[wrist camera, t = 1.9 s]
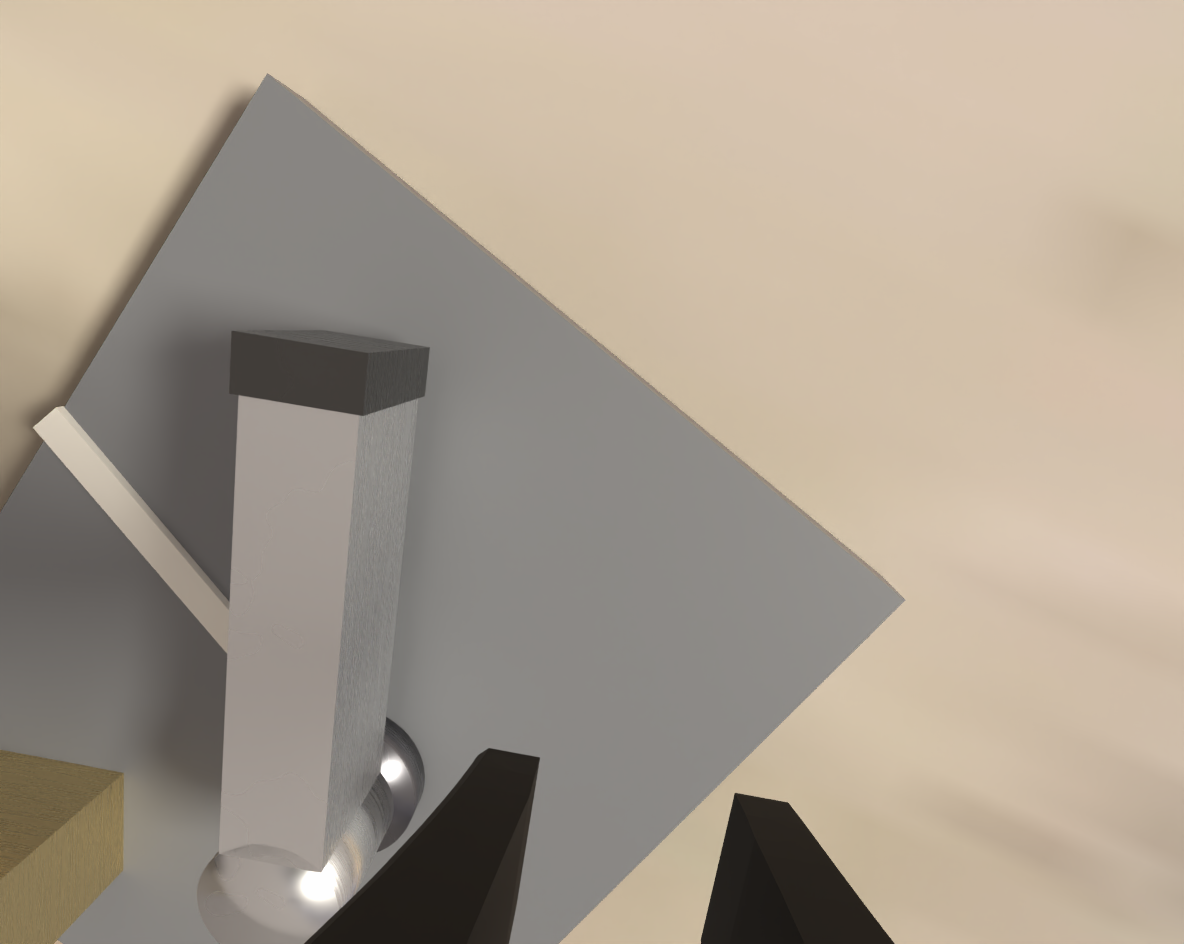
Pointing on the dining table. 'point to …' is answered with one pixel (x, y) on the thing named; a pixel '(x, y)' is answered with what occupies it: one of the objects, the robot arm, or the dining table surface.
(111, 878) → the tan block
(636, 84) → the dining table surface
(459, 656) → the plate
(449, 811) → the robot arm
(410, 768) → the dark grey round disc
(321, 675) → the bar
